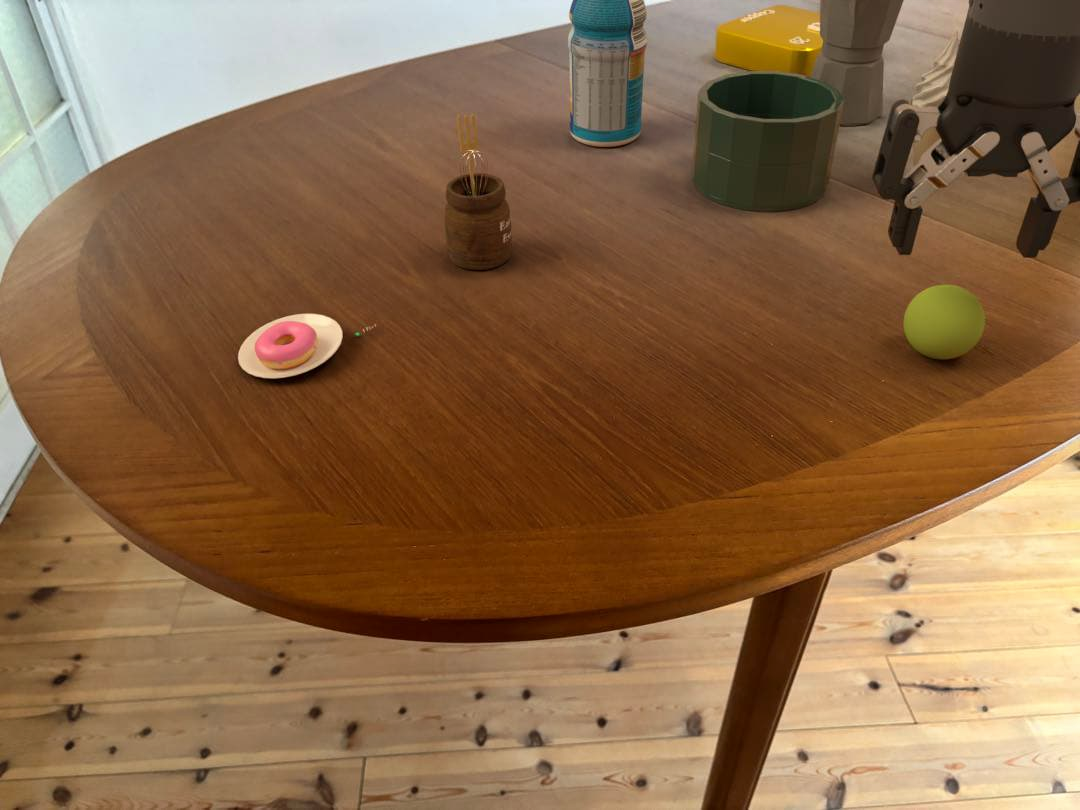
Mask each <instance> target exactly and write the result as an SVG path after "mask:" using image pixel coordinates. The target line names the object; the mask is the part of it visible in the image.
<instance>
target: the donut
mask: <svg viewBox="0 0 1080 810" xmlns="http://www.w3.org/2000/svg"><path fill="white" fill-rule="evenodd" d="M374 327H375V328H376V327H377V324H376V323H374V326H373V325H372V326H368V327H365V329H366V331H367V332H369V330H370V331H372V329H374ZM365 329H364V328H363V329H362V331H363V334H364V333H366V331H365ZM343 334H344V333H343V329H342V326H341V325H340V324H339V323H338V322H337V321H336V320H335V319H333V318H332V317H329V316H327V315H323V314H318V313H298V314H293V315H292V314H291V315H287V316H284V317H281V318H277V319H274V320H272V321H270V322H267V323H266V324H264V325H262V326H261V327H258V328H257V329H256V330H254V331H253V332H252V333H251V334H250V335H249V336H248V337H246V338H245V340H244V341H243V342H242V344H241V345H240V347H239V350H238V354H237V361H238V365H239V366H240V368H241V369H242V370H243V371H245V372H246V373H247V374H249V375H251V376H253V377H257V378H262V379H273V380H274V379H284V378H289V377H290V378H291V377H295V376H298V375H301V374H304V373H307V372H309V371H312V370H314V369H315V368H317V367H319V366H321V365H322V364H324V363H325V362H327V361H328V360H329V359H330V358H332V357H333V355H334V354H335V353H337V351H338V350H339V348H340V346H341V345H342V342H343ZM354 335H355V337H357V338H358V337H360V333H359V332H355V334H354Z"/></svg>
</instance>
